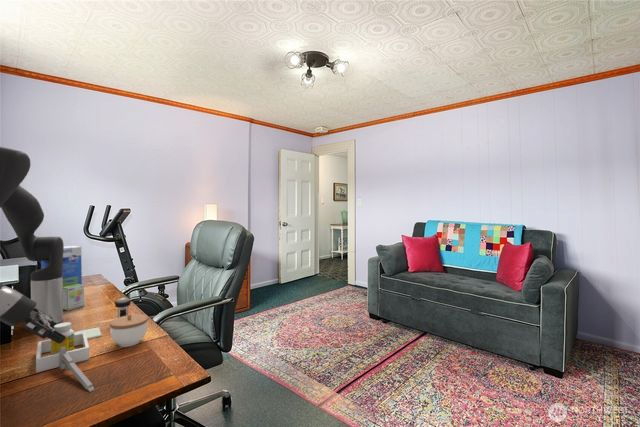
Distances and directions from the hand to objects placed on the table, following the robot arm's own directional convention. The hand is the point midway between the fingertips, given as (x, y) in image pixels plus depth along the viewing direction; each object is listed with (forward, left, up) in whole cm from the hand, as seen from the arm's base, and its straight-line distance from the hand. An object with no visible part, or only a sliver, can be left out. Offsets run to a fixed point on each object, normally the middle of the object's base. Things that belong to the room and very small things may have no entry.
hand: (62, 335), depth 93 cm
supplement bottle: (0, 0, -6) cm, 6 cm away
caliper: (+14, -11, -7) cm, 19 cm away
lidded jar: (+13, +10, -6) cm, 18 cm away
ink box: (-35, +41, -6) cm, 55 cm away
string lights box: (-47, +48, -6) cm, 68 cm away
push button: (0, +24, -6) cm, 25 cm away
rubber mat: (-6, +15, -6) cm, 17 cm away
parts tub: (0, 0, -6) cm, 6 cm away
